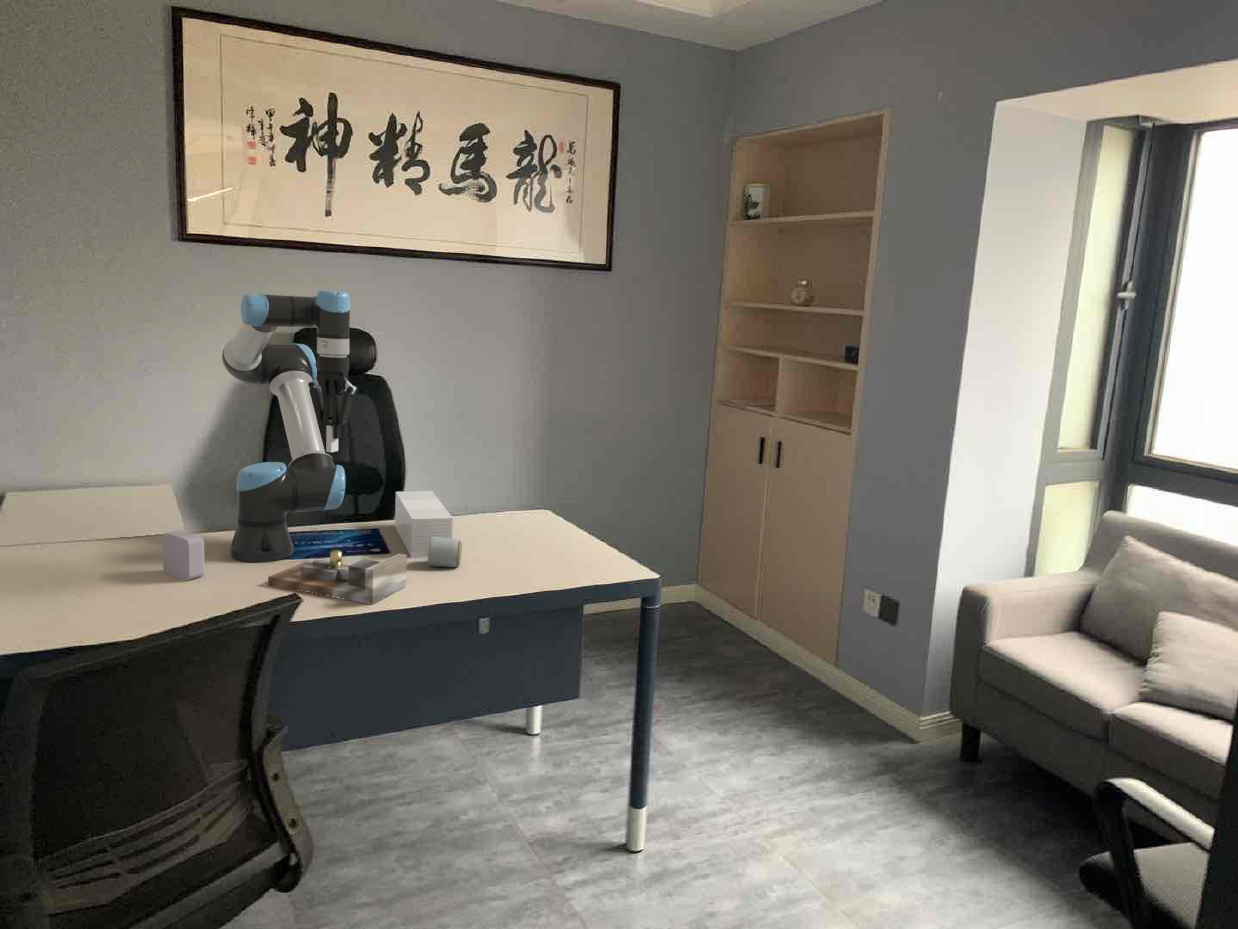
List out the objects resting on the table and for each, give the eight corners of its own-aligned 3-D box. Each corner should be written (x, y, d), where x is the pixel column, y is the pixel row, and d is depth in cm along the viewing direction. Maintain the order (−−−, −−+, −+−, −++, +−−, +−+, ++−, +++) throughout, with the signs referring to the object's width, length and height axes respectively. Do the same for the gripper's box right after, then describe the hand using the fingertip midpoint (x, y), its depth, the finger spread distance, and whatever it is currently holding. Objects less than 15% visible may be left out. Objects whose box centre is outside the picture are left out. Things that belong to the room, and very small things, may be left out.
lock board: (268, 585, 213) (267, 552, 211) (305, 569, 226) (306, 537, 224) (372, 604, 204) (373, 570, 203) (405, 587, 218) (406, 554, 216)
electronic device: (207, 577, 215) (206, 536, 214) (189, 581, 211) (188, 540, 210) (181, 568, 220) (180, 528, 218) (163, 572, 216) (162, 532, 214)
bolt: (327, 577, 214) (327, 552, 213) (334, 574, 216) (334, 549, 215) (372, 585, 210) (372, 560, 209) (378, 581, 213) (378, 557, 212)
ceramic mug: (459, 570, 232) (460, 541, 231) (427, 569, 232) (428, 540, 230) (462, 559, 243) (463, 531, 242) (431, 558, 242) (432, 530, 241)
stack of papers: (395, 527, 270) (395, 491, 268) (431, 525, 274) (432, 490, 272) (411, 558, 241) (412, 519, 239) (451, 556, 245) (452, 517, 243)
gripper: (300, 353, 219) (300, 450, 224) (346, 358, 215) (345, 456, 220) (320, 352, 226) (320, 446, 231) (365, 357, 222) (363, 452, 226)
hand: (332, 451), depth 225 cm, fingers closed
